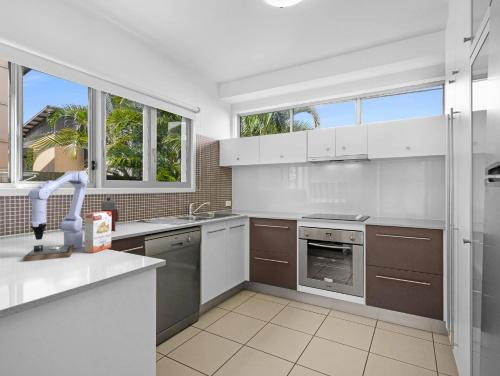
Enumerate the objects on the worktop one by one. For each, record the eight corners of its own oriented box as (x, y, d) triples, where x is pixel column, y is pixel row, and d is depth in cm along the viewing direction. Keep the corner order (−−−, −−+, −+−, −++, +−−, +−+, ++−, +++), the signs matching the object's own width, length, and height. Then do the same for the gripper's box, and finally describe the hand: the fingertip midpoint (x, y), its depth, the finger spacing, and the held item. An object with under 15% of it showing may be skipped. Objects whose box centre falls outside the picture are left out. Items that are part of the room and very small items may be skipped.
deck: (70, 246, 148) (70, 240, 148) (66, 252, 136) (66, 245, 136) (36, 249, 141) (35, 243, 141) (29, 255, 130) (28, 249, 130)
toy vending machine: (118, 231, 211) (118, 194, 211) (102, 232, 205) (102, 195, 205) (117, 229, 219) (117, 194, 219) (101, 230, 213) (101, 194, 213)
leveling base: (73, 250, 150) (73, 244, 150) (69, 257, 136) (69, 250, 136) (32, 253, 142) (32, 247, 142) (23, 261, 128) (23, 254, 128)
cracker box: (93, 253, 143) (93, 213, 143) (83, 252, 145) (83, 213, 144) (112, 247, 157) (112, 211, 157) (102, 247, 158) (103, 210, 158)
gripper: (32, 211, 141) (32, 237, 142) (24, 213, 128) (24, 242, 129) (49, 210, 145) (49, 236, 145) (43, 213, 132) (43, 241, 132)
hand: (39, 239), depth 137 cm, fingers closed
